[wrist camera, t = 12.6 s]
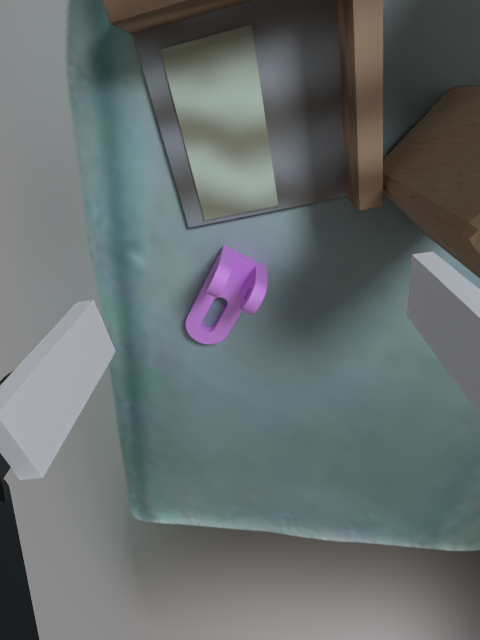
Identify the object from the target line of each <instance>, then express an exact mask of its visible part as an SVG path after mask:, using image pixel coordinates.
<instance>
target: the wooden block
mask: <svg viewBox="0 0 480 640" xmlns="http://www.w3.org/2000/svg"><path fill="white" fill-rule="evenodd" d="M383 193H384V194H385V195H386V196H387V197H388V198H389V199H390V200H391V201H392V202H393V203H394V204H395V205H396V206H397V207H398V208H399V209H400V210H401V211H402V212H403V213H404V214H405V215H406V216H407V217H408V218H409V219H410V220H411V221H412V222H413V223H414V224H415V225H416V226H417V227H418V228H419V229H420V230H421V231H422V232H423V233H424V234H426V235H427V236H428V237H429V238H431V239H432V240H433V241H434V242H436V243H437V244H438V245H439V246H440V247H442V248H443V249H444V250H445V251H447V252H448V253H449V254H450V255H452V256H453V257H454V258H455V259H457V260H458V261H459V262H460V263H462V264H463V265H464V266H465V267H466V268H468V269H469V270H470V271H471V272H473V273H474V274H475V275H476V276H478V277H479V278H480V85H470V86H456V87H455V88H453V89H451V90H449V91H447V92H446V93H445V95H444V96H443V97H442V98H441V99H440V100H439V101H438V102H437V103H436V104H435V105H434V106H433V107H432V108H431V109H430V110H429V111H428V112H427V114H426V115H425V116H424V117H423V118H422V119H421V120H420V121H419V122H418V123H417V124H416V125H415V126H414V127H413V128H412V129H411V130H410V131H409V133H408V134H407V135H406V136H405V137H404V138H403V139H402V140H401V141H400V142H399V143H398V144H397V145H396V146H395V147H394V148H393V149H392V150H391V152H390V153H389V154H388V155H387V156H386V157H385V158H384V159H383Z"/></svg>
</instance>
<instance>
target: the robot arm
mask: <svg viewBox="0 0 480 640" xmlns="http://www.w3.org/2000/svg"><path fill="white" fill-rule="evenodd" d="M407 316H408V318H409V319H410V320H411V322H412V323H413V324H414V326H415V327H416V328H417V330H418V331H419V333H420V334H421V335H422V337H423V338H424V339H425V341H426V342H427V344H428V345H429V346H430V348H431V349H432V350H433V352H434V353H435V354H436V356H437V357H438V359H439V360H440V361H441V363H442V364H443V365H444V367H445V368H446V369H447V371H448V372H449V374H450V375H451V376H452V378H453V379H454V380H455V382H456V383H457V385H458V386H459V387H460V389H461V390H462V391H463V393H464V394H465V395H466V397H467V398H468V400H469V401H470V402H471V404H472V405H473V406H474V408H475V409H476V411H477V412H478V413H479V415H480V289H479V288H477V287H476V286H475V285H474V284H472V283H471V282H470V281H469V280H467V279H466V278H465V277H464V276H462V275H461V274H460V273H459V272H458V271H456V270H455V269H454V268H453V267H451V266H450V265H449V264H448V263H446V262H445V261H444V260H443V259H441V258H440V257H439V256H438V255H436V254H435V253H434V252H433V251H432V252H425V253H418V254H412V258H411V271H410V284H409V297H408V310H407ZM115 352H116V351H115V349H114V346H113V344H112V342H111V339H110V337H109V335H108V332H107V330H106V328H105V325H104V323H103V321H102V318H101V316H100V314H99V311H98V309H97V307H96V304H95V302H94V300H90V301H82V302H77V303H76V304H75V305H74V306H73V307H72V308H71V309H70V310H69V311H68V313H67V314H66V315H65V316H64V317H63V318H62V319H61V320H60V321H59V322H58V323H57V324H56V326H55V327H54V328H53V329H52V330H51V331H50V332H49V333H48V334H47V335H46V336H45V338H44V339H43V340H42V341H41V342H40V343H39V344H38V345H37V346H36V347H35V348H34V349H33V351H32V352H31V353H30V354H29V355H28V356H27V357H26V358H25V359H24V361H22V362H21V364H20V365H19V366H18V367H17V368H16V369H15V370H13V371H12V372H11V373H9V374H8V375H6V376H5V377H4V378H3V379H2V380H1V381H0V640H39V636H38V632H37V626H36V621H35V616H34V610H33V606H32V601H31V595H30V590H29V585H28V580H27V575H26V570H25V565H24V560H23V555H22V550H21V545H20V540H19V535H18V529H17V525H16V519H15V514H14V509H13V504H12V499H11V494H10V489H9V486H8V484H7V482H6V481H5V480H4V479H3V478H4V476H5V475H6V473H7V472H8V471H9V469H10V468H11V469H12V471H13V472H14V473H15V474H16V476H17V477H18V478H19V480H30V479H43V477H44V475H45V473H46V472H47V470H48V468H49V466H50V465H51V463H52V461H53V459H54V458H55V456H56V454H57V452H58V451H59V449H60V447H61V446H62V444H63V442H64V440H65V439H66V437H67V435H68V433H69V432H70V430H71V428H72V427H73V425H74V423H75V421H76V419H77V418H78V416H79V414H80V413H81V411H82V409H83V407H84V406H85V404H86V402H87V400H88V399H89V397H90V395H91V394H92V392H93V390H94V388H95V387H96V385H97V383H98V381H99V380H100V378H101V376H102V374H103V373H104V371H105V369H106V367H107V366H108V364H109V362H110V361H111V359H112V357H113V355H114V354H115Z"/></svg>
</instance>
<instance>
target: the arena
mask: <svg viewBox="0 0 480 640" xmlns="http://www.w3.org/2000/svg"><path fill="white" fill-rule="evenodd" d="M103 2H104V5H105V8H106V12H107V15H108V18H109V21H110V23H111V24H113V25H115V26H117V27H119V28H121V29H123V30H125V31H127V32H128V33H130V34H132V35H133V37H134V41H135V44H136V48H137V51H138V54H139V58H140V61H141V65H142V68H143V72H144V75H145V79H146V82H147V86H148V89H149V93H150V96H151V99H152V103H153V106H154V110H155V113H156V117H157V120H158V124H159V127H160V131H161V134H162V137H163V141H164V144H165V148H166V151H167V155H168V158H169V162H170V165H171V169H172V172H173V176H174V179H175V182H176V186H177V189H178V193H179V196H180V200H181V203H182V207H183V210H184V214H185V217H186V221H187V224H188V227H189V228H190V227H195V226H200V225H205V224H210V223H215V222H220V221H225V220H231V219H236V218H241V217H246V216H251V215H256V214H261V213H266V212H271V211H276V210H281V209H286V208H291V207H296V206H301V205H306V204H311V203H316V202H321V201H326V200H331V199H336V198H341V197H346V196H347V197H348V199H349V200H350V201H351V202H352V203H353V204H354V205H355V206H356V207H357V208H358V209H359V211H361V210H367V209H372V208H377V207H382V206H383V0H103Z"/></svg>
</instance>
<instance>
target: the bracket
mask: <svg viewBox="0 0 480 640" xmlns="http://www.w3.org/2000/svg"><path fill="white" fill-rule="evenodd" d="M266 291H267V267H266V266H265V265H263V264H261V263H259V262H257V261H255V260H253V259H251V258H249V257H247V256H245V255H243V254H241V253H239V252H237V251H235V250H233V249H231V248H229V247H227V246H225V245H223V247H222V249H221V251H220V253H219V255H218V257H217V259H216V261H215V263H214V265H213V267H212V269H211V271H210V273H209V274H208V276H207V278H206V280H205V282H204V284H203V286H202V288H201V290H200V292H199V294H198V296H197V298H196V300H195V302H194V304H193V306H192V308H191V310H190V311H189V314H188V316H187V320H186V329H187V332H188V334H189V335H190V336H191V337H192V338H193V339H194V340H196V341H197V342H200V343H203V344H216V343H219V342H221V341H222V340H224V339H225V338H226V336H227V335H228V333H229V332H230V330H231V328H232V327H233V325H234V323H235V322H236V320H237V319H238V317H239V315H240V314H241V312H242V310H243V311H245V312H247V313H250V314H254V313H255V312H256V311H257V310H258V308H259V307H260V305H261V303H262V301H263V299H264V297H265V294H266ZM218 297H222V298H224V299H226V300H227V302H228V303H227V305H226V306H225V308H224V310H223V311H222V313H221V315H220V317H219V318H218V320H217V322H216V324H215V325H214V326H213V327H206V326H204V325H203V324H202V321H203V319H204V317H205V315H206V313H207V311H208V310H209V308H210V306H211V304H212V302H213V301H214V299H216V298H218Z"/></svg>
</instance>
